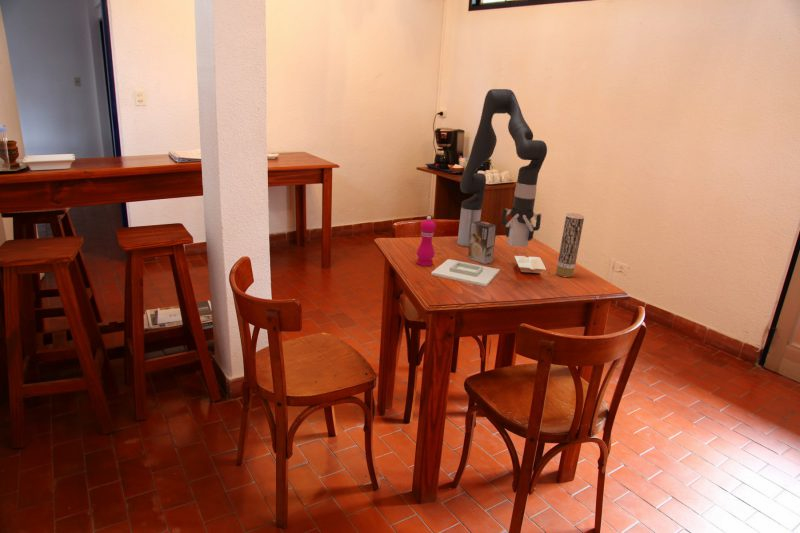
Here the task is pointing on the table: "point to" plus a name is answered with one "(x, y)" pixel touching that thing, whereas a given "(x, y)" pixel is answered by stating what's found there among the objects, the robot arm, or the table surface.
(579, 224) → the paper tube
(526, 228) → the white tea box
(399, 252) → the table surface
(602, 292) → the table surface
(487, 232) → the coffee box
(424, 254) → the pepper mill
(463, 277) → the white switch plate
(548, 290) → the table surface
